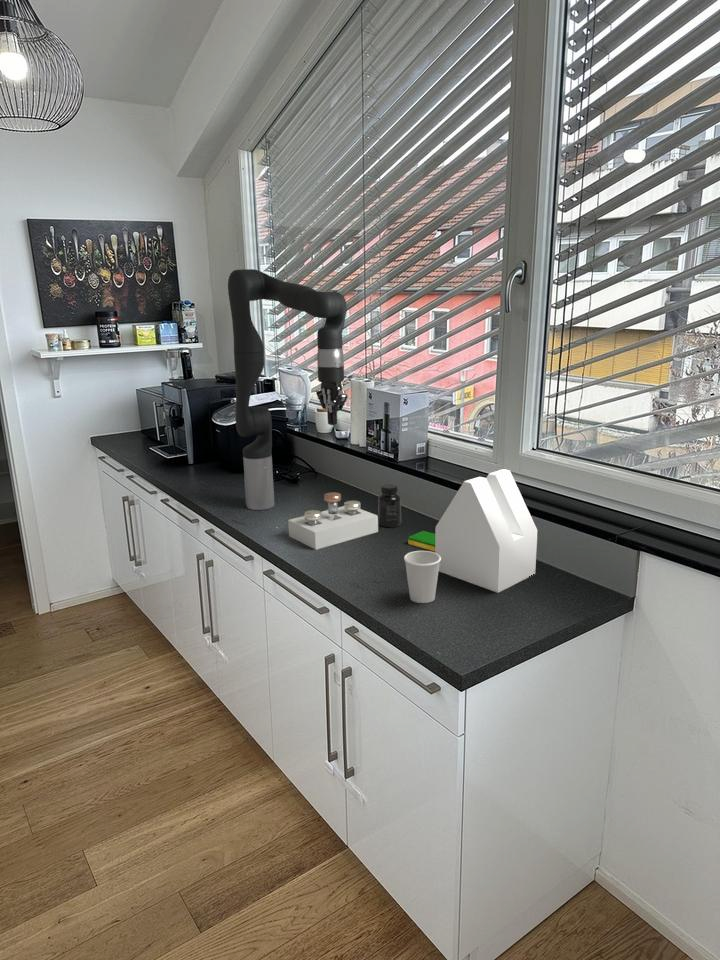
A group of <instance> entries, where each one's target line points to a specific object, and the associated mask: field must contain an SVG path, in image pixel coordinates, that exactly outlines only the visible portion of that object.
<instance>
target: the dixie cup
mask: <svg viewBox="0 0 720 960" xmlns="http://www.w3.org/2000/svg"><path fill="white" fill-rule="evenodd" d="M403 559H404V563H405V571H406V577H407V584H408V585H407V586H408V592H409V598H410V601H412V602H413V603H417V604H427V603H432V602H433V601H434V600H435V598H436V593H437V584H438V578H439V564H440V561H441V557H440V556H439V555H438V554H436V553H435V551H431V550H416V551H409V552H408V553H406V554H405V555H404V557H403Z"/></svg>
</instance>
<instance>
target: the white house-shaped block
mask: <svg viewBox="0 0 720 960" xmlns="http://www.w3.org/2000/svg"><path fill="white" fill-rule="evenodd" d="M434 529H435V533H434V534H435V551H434V553H436V554H438V555H439V556H440V557H441V561H440V564H439V571H438V573H443V574H446V575H448V576H450V577H453V578H456V579H459V580H461V581H465V582H467V583H470V584H472V585H476V586H478V587H481V588H484V589H486V590H489V591H492V592H494V593H497V594H498V593H501V592H503V591H505V590H506V589H508V588H511V587H512V586H514V585H516V584H518V583H520V582H522V581H524V580H526V579H528V578H530V577H532V576H534V575H536V565H537V563H536V562H537V549H538V548H537V547H538V528H537V526H536V524H535V522H534V520H533V518H532V515H531V513H530V511H529V509H528V507H527V505H526V503H525V501H524V497H523V496H522V493H521V491H520V489H519V487H518V486H517V482H516V481H515V478H514V477H513V474H512V471H510V469H509V470H508V469H504V468H503V469H502V468H501V469H499V470H497V471H492V472H490V473H488V474H487V476H486V477H482V476H478V477H474V478H471V479H467V480H464V481H463V482H462V484H461V486H460V487H459V489H458V490H457V492H456V494H455V495H454V497H453V498H452V500H451V502H450V503H449V505H448V507H447V508H446V510H445V511H444V513H443V514H442V516H441V517H440V519H439V521H438V522H437V524H436V525H435V528H434ZM533 574H534V575H533ZM531 575H532V576H531ZM529 576H530V577H529Z"/></svg>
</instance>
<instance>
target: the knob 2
mask: <svg viewBox="0 0 720 960" xmlns="http://www.w3.org/2000/svg"><path fill="white" fill-rule="evenodd" d="M343 506H344V509H346V510H348V515H350V516H353V515H356V514H357V510H358V509H362V508H361V502H360V500H347V501H344V504H343Z"/></svg>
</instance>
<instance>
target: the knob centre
mask: <svg viewBox="0 0 720 960" xmlns="http://www.w3.org/2000/svg"><path fill="white" fill-rule="evenodd" d="M323 500H324V501H325V502H327V510H328V514H337V513H338V507H339V504H338V502H341V500H342V494H341V493H339V492H333V491H332V492H326V493H324V494H323Z"/></svg>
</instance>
